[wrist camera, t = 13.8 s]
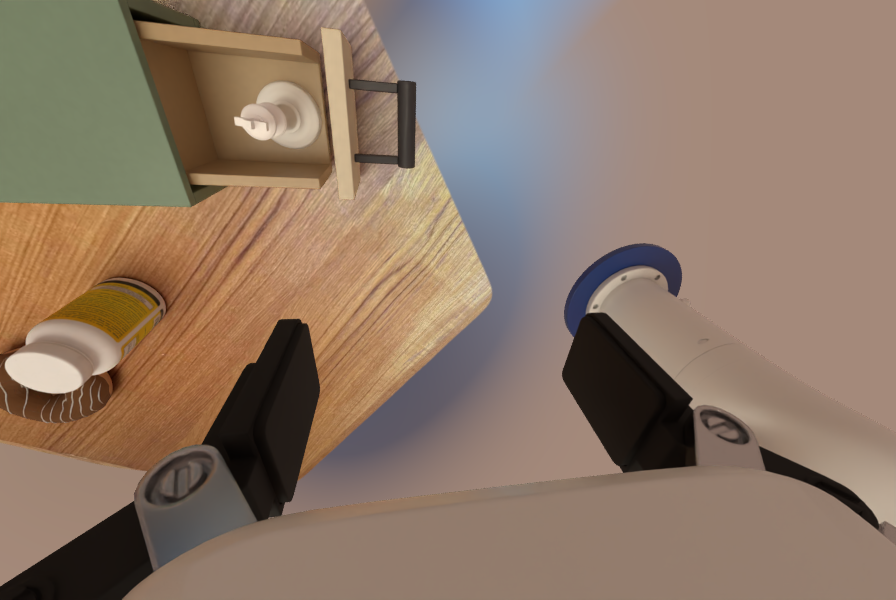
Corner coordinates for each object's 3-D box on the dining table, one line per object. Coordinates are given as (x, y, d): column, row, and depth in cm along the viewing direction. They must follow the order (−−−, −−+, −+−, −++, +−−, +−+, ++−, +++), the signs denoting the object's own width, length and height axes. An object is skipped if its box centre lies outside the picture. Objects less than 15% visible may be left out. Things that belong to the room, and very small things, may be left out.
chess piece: (322, 153, 28) (295, 176, 20) (260, 142, 27) (205, 162, 19) (321, 88, 26) (290, 84, 17) (254, 73, 25) (186, 61, 16)
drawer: (412, 52, 26) (420, 39, 20) (410, 182, 32) (416, 202, 26) (175, 25, 23) (101, -1, 17) (219, 174, 29) (174, 194, 23)
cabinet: (198, 19, 24) (111, -17, 16) (240, 179, 30) (191, 207, 22) (-27, -8, 21) (-252, -65, 14) (68, 173, 28) (-51, 201, 20)
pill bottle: (86, 274, 32) (-32, 344, 23) (157, 276, 33) (71, 343, 24) (112, 323, 35) (17, 402, 26) (176, 323, 37) (106, 398, 28)
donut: (-19, 371, 36) (-60, 398, 33) (37, 322, 34) (-1, 347, 31) (88, 414, 42) (62, 442, 38) (141, 375, 40) (118, 400, 36)
